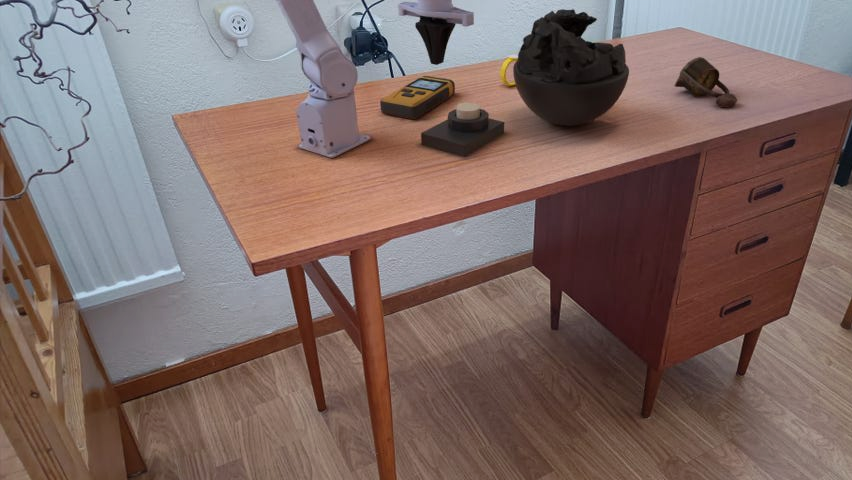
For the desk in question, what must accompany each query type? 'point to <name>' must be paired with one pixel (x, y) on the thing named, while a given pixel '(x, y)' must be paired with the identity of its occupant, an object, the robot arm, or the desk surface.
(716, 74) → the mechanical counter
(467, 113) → the power button
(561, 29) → the coal bowl
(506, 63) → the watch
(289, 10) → the robot arm
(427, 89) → the electronic device
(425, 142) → the switch box
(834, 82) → the desk surface
